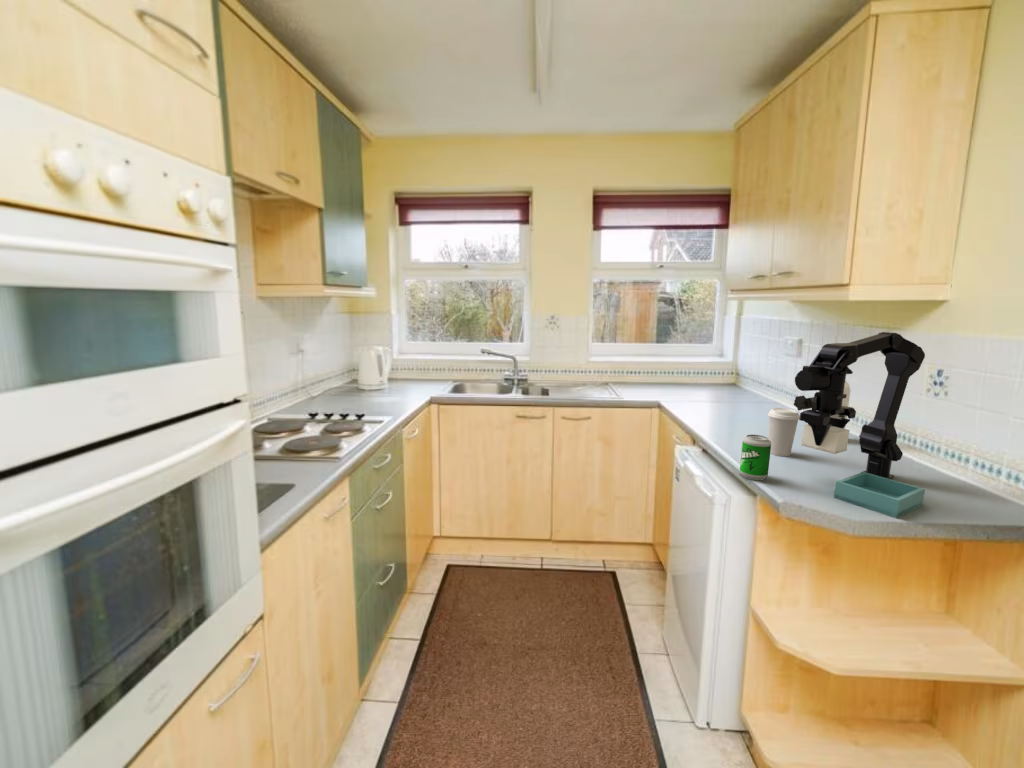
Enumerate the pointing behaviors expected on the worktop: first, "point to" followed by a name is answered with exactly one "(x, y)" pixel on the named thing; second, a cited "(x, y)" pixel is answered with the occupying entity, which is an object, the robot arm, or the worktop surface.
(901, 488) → the big crate
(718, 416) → the worktop surface
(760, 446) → the soda can
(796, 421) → the coffee cup
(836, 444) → the small crate
